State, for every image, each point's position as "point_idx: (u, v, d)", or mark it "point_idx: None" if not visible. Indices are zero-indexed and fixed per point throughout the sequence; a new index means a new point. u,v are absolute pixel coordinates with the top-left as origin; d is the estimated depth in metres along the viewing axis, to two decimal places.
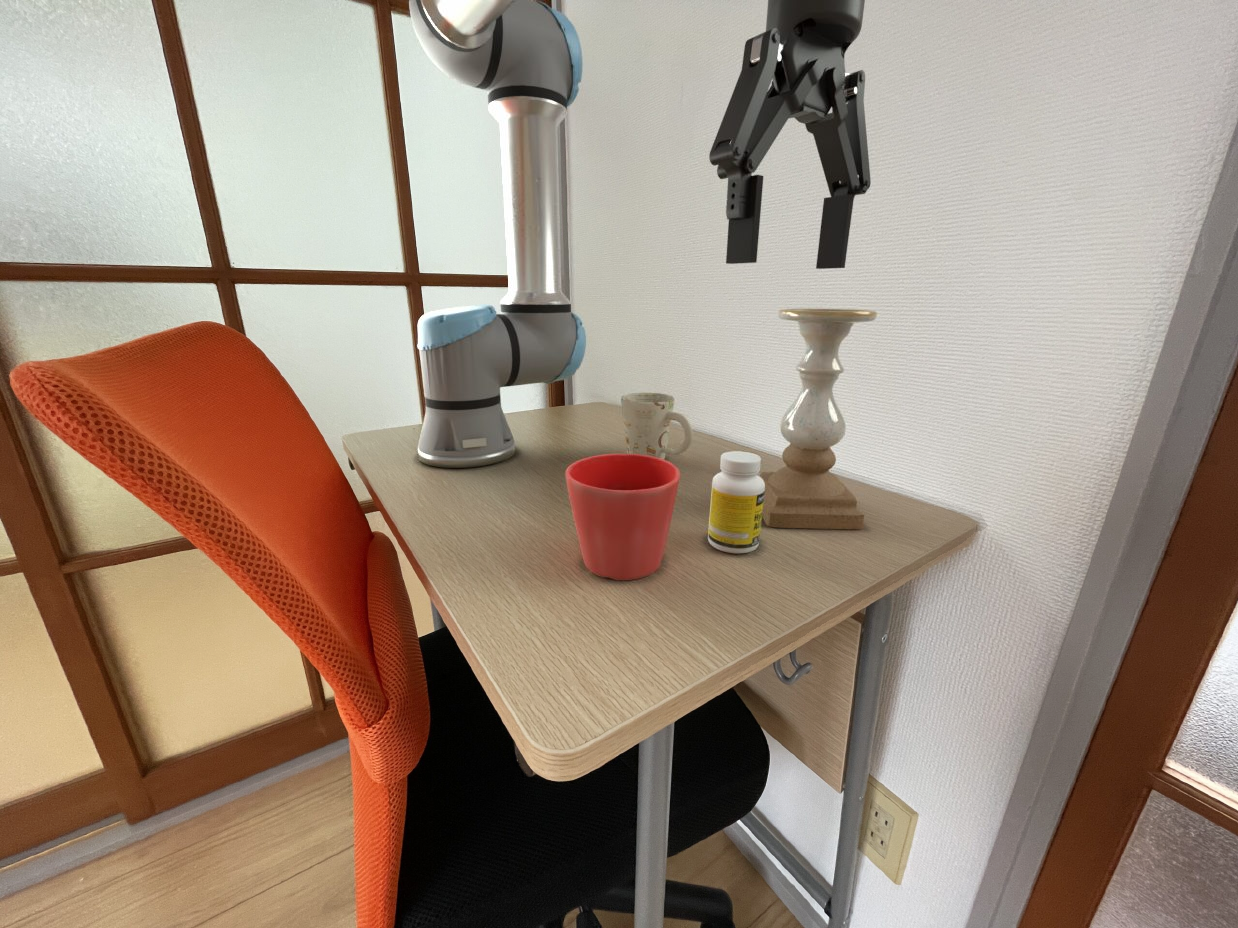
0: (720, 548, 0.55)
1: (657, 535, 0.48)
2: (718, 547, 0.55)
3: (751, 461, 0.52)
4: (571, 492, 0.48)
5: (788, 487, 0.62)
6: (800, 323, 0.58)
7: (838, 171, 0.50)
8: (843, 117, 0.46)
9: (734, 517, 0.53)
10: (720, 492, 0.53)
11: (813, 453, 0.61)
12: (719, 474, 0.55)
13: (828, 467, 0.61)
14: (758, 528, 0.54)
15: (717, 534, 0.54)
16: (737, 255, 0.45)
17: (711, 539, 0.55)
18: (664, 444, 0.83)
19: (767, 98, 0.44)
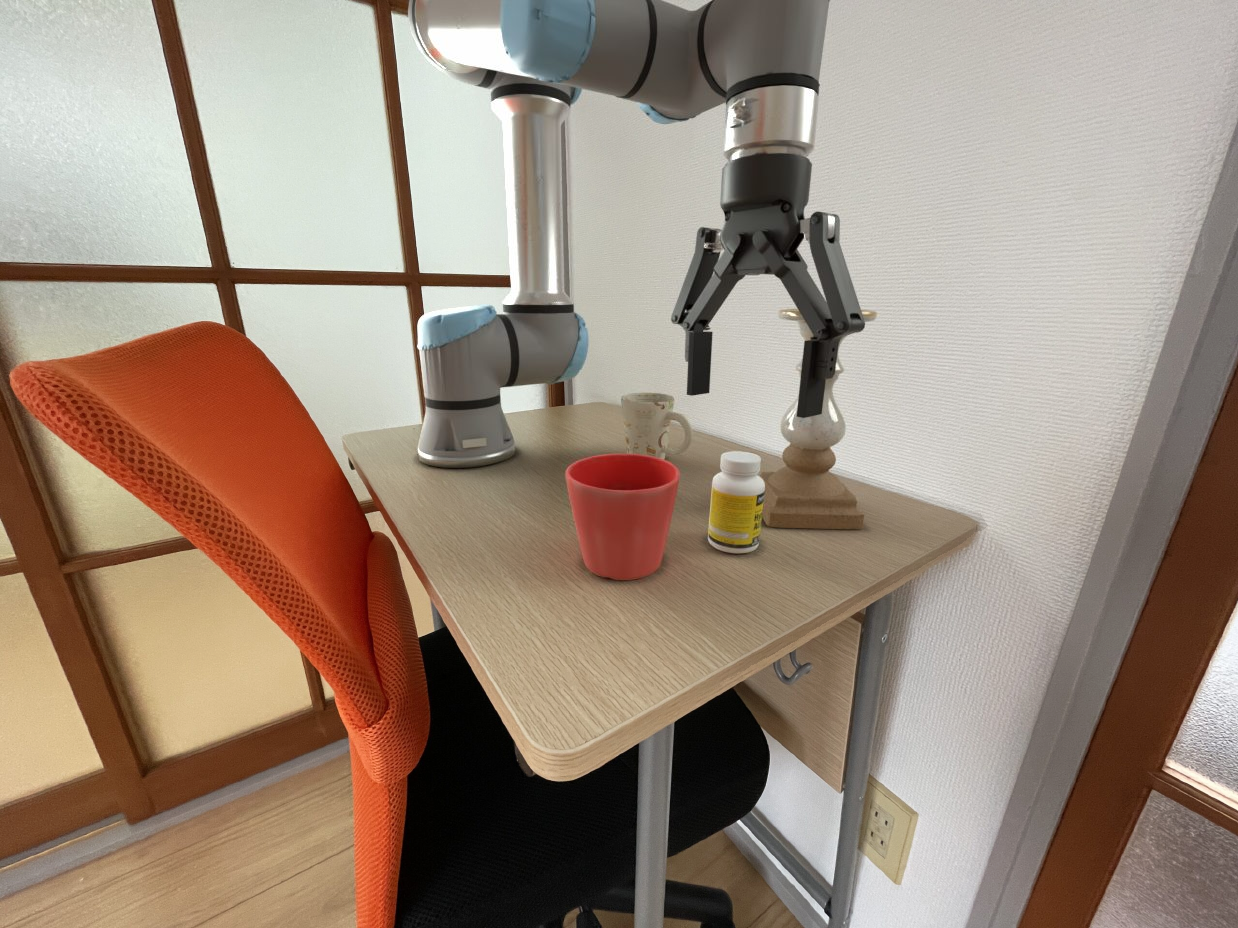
0: (720, 548, 0.55)
1: (657, 535, 0.48)
2: (718, 547, 0.55)
3: (751, 461, 0.52)
4: (571, 492, 0.48)
5: (788, 487, 0.62)
6: (800, 323, 0.58)
7: None
8: (777, 269, 0.45)
9: (734, 517, 0.53)
10: (720, 492, 0.53)
11: (813, 453, 0.61)
12: (719, 474, 0.55)
13: (828, 467, 0.61)
14: (758, 528, 0.54)
15: (717, 534, 0.54)
16: None
17: (711, 539, 0.55)
18: (664, 444, 0.83)
19: None
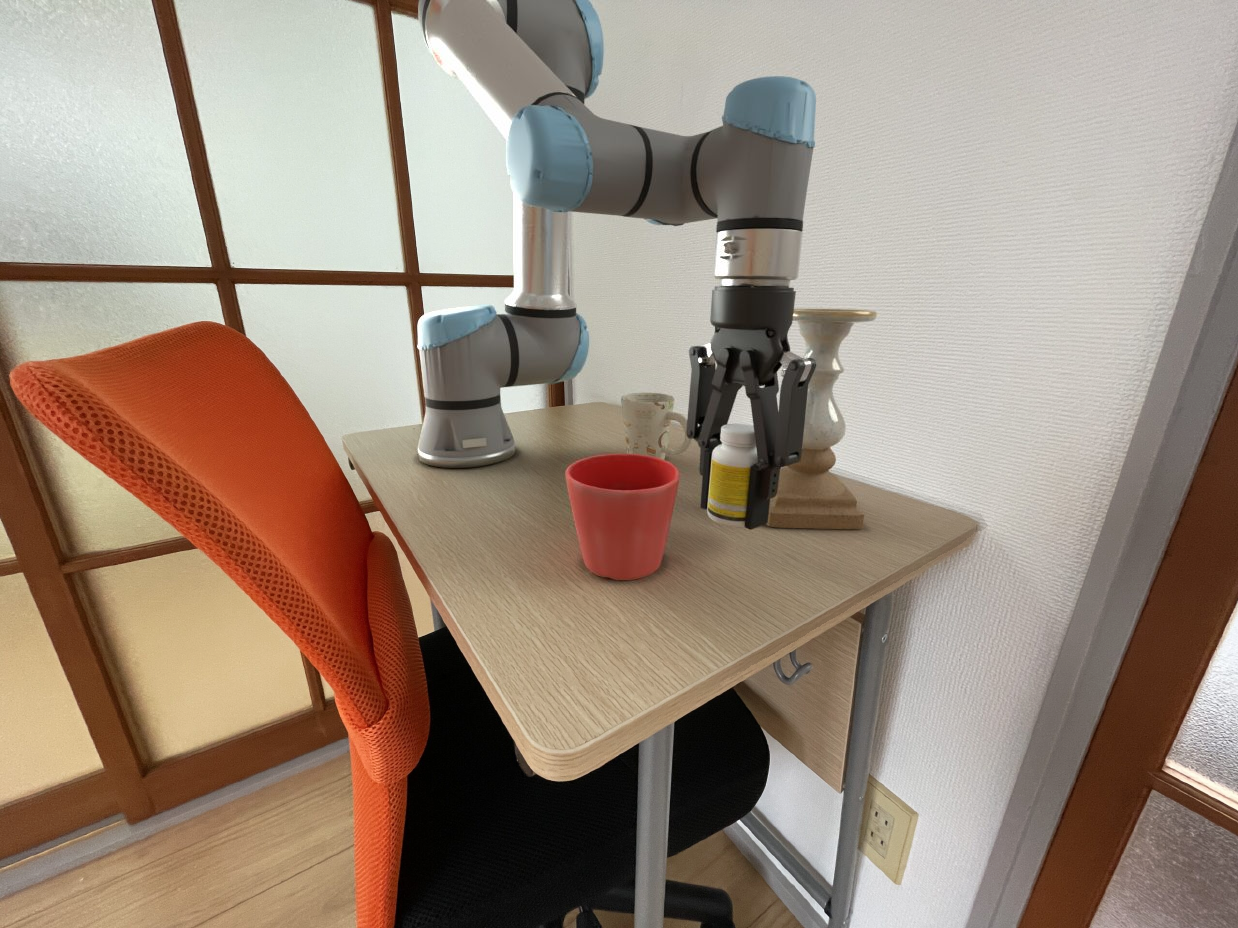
0: (719, 521, 0.54)
1: (657, 535, 0.48)
2: (717, 520, 0.54)
3: (751, 432, 0.51)
4: (571, 492, 0.48)
5: (788, 487, 0.62)
6: (800, 323, 0.58)
7: None
8: (750, 393, 0.49)
9: (734, 489, 0.52)
10: (720, 464, 0.52)
11: (813, 453, 0.61)
12: (719, 446, 0.54)
13: (828, 467, 0.61)
14: None
15: (716, 507, 0.54)
16: None
17: (710, 512, 0.55)
18: (664, 444, 0.83)
19: None
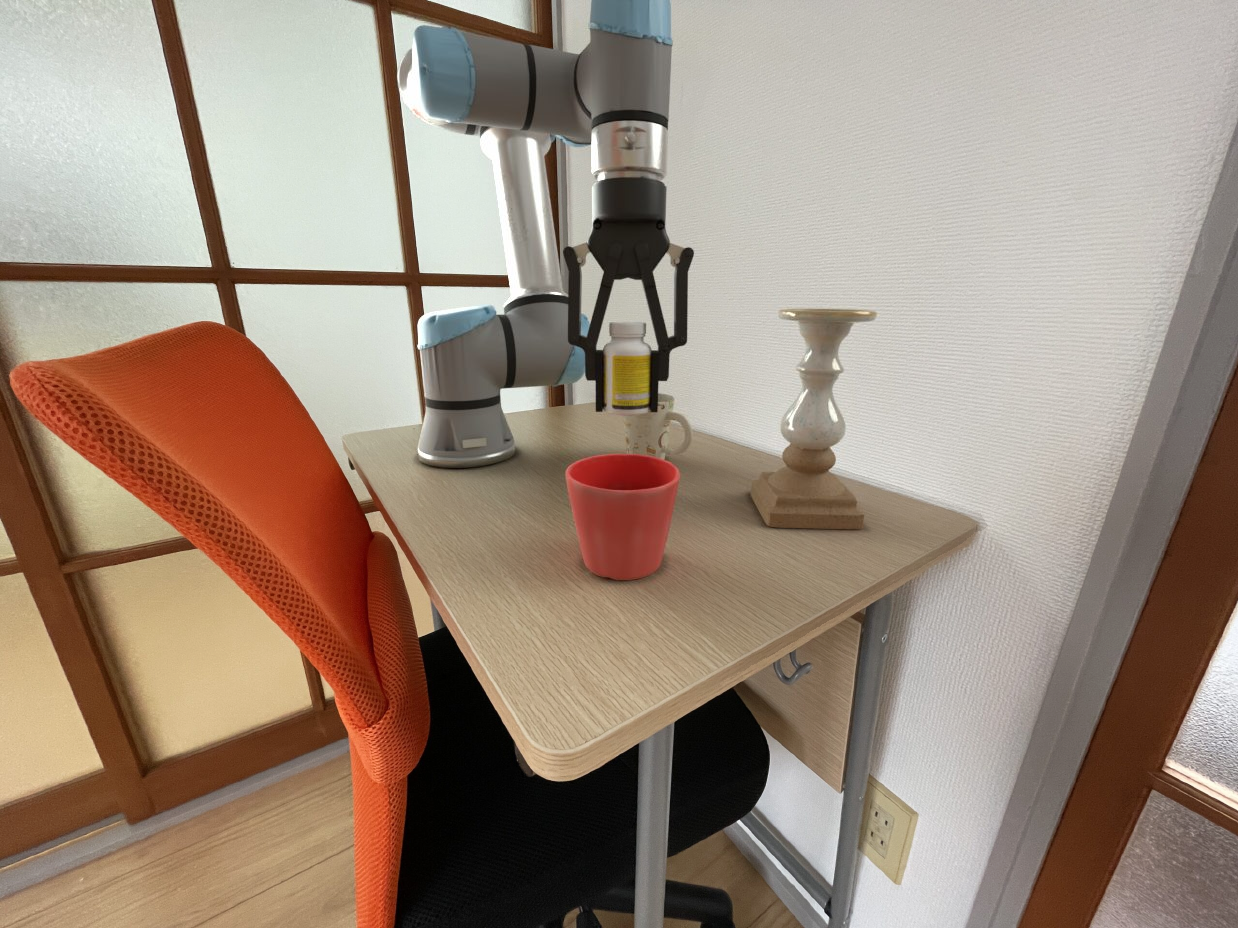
0: (631, 413, 0.57)
1: (657, 535, 0.48)
2: (629, 412, 0.57)
3: (643, 323, 0.57)
4: (571, 492, 0.48)
5: (788, 487, 0.62)
6: (800, 323, 0.58)
7: (653, 326, 0.57)
8: (648, 283, 0.54)
9: (642, 377, 0.57)
10: (627, 356, 0.55)
11: (813, 453, 0.61)
12: (613, 343, 0.56)
13: (828, 467, 0.61)
14: None
15: (627, 400, 0.57)
16: None
17: (619, 408, 0.57)
18: (664, 444, 0.83)
19: None
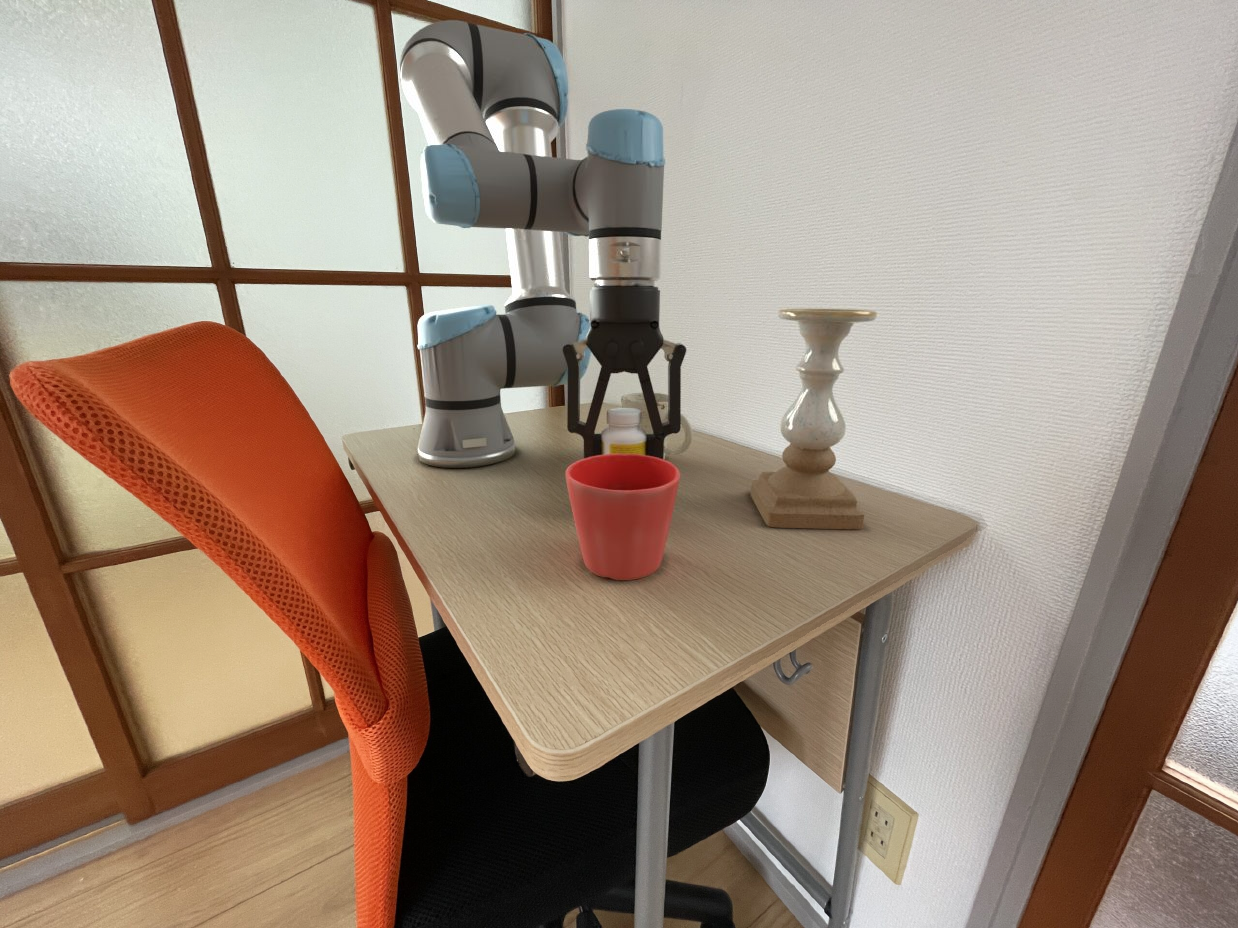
0: None
1: (657, 535, 0.48)
2: None
3: (638, 411, 0.60)
4: (571, 492, 0.48)
5: (788, 487, 0.62)
6: (800, 323, 0.58)
7: None
8: (643, 378, 0.57)
9: None
10: (623, 445, 0.58)
11: (813, 453, 0.61)
12: (610, 431, 0.59)
13: (828, 467, 0.61)
14: None
15: None
16: None
17: None
18: (664, 444, 0.83)
19: None
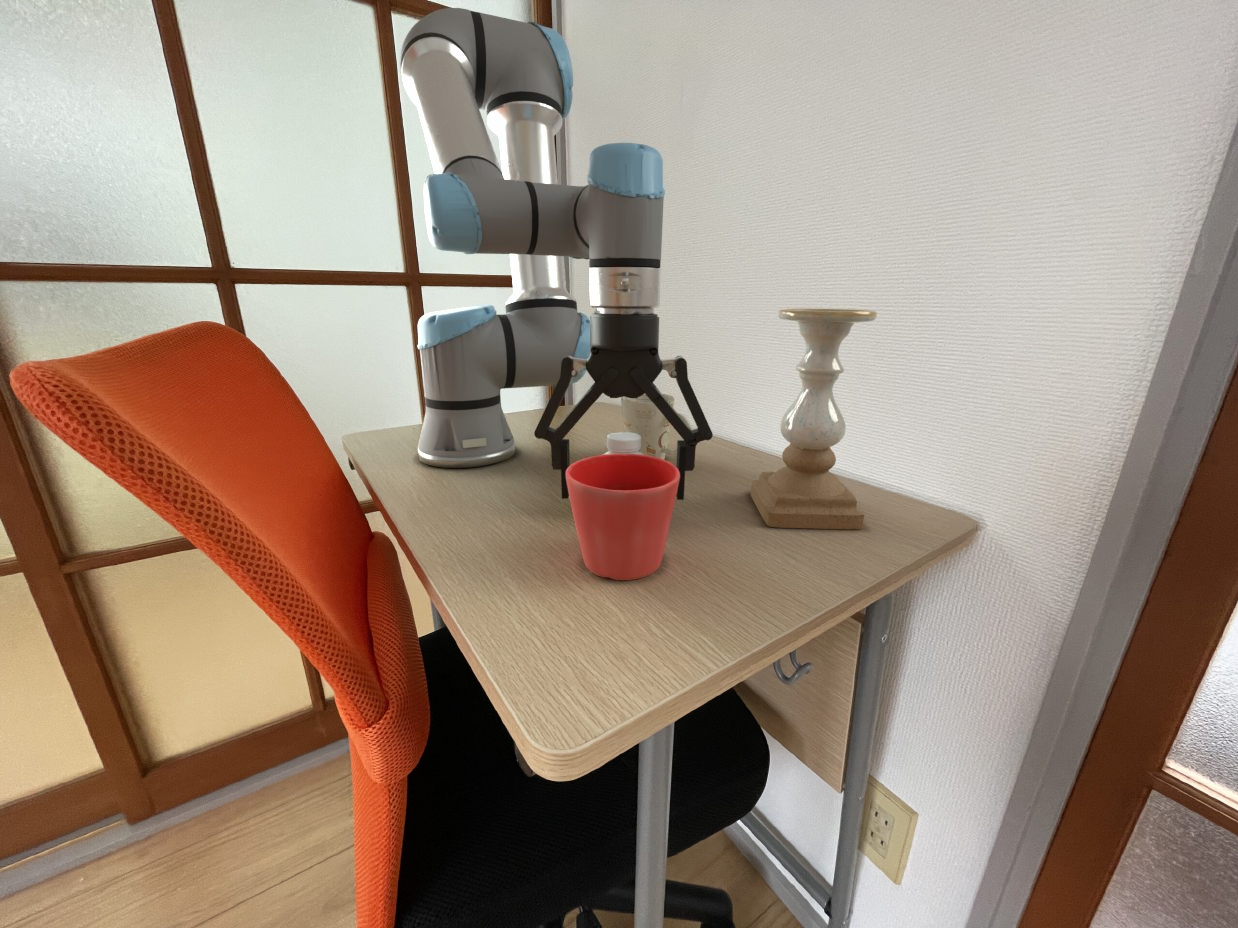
0: None
1: (657, 535, 0.48)
2: None
3: (638, 437, 0.61)
4: (571, 492, 0.48)
5: (788, 487, 0.62)
6: (800, 323, 0.58)
7: None
8: (654, 397, 0.58)
9: None
10: None
11: (813, 453, 0.61)
12: None
13: (828, 467, 0.61)
14: None
15: None
16: None
17: None
18: (664, 444, 0.83)
19: (592, 385, 0.60)
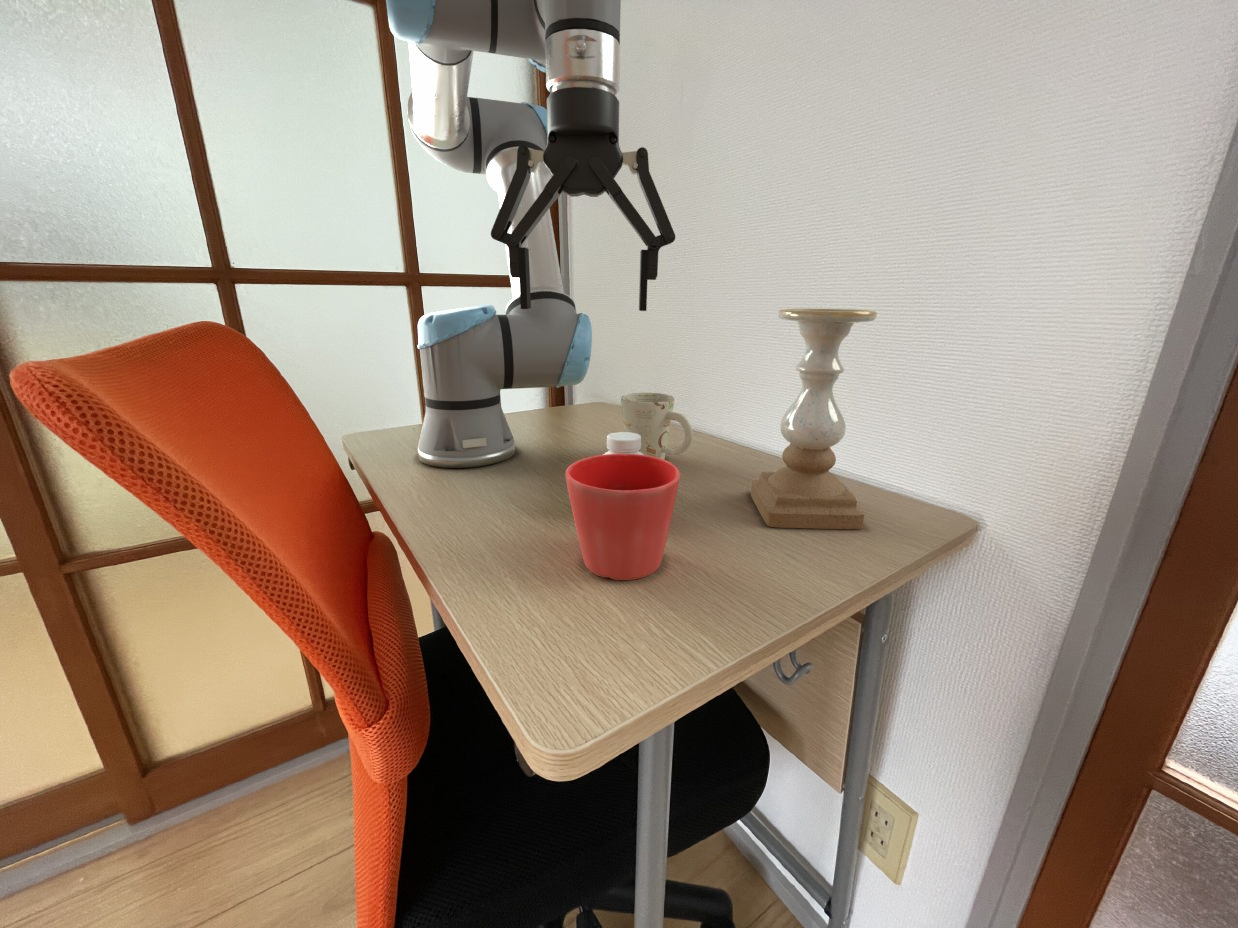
0: None
1: (657, 535, 0.48)
2: None
3: (638, 437, 0.61)
4: (571, 492, 0.48)
5: (788, 487, 0.62)
6: (800, 323, 0.58)
7: (636, 230, 0.58)
8: (614, 191, 0.56)
9: None
10: None
11: (813, 453, 0.61)
12: None
13: (828, 467, 0.61)
14: None
15: None
16: None
17: None
18: (664, 444, 0.83)
19: None
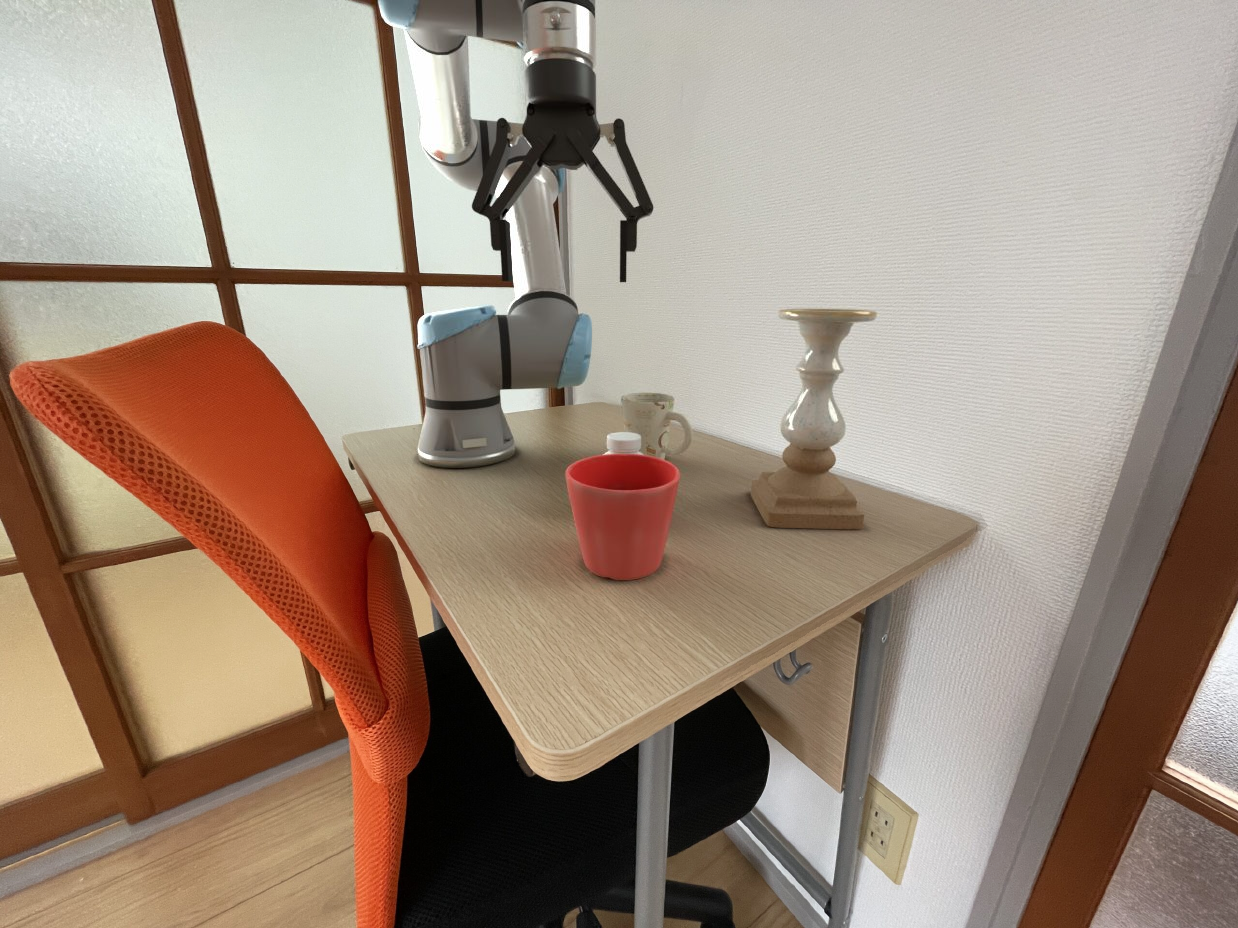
0: None
1: (657, 535, 0.48)
2: None
3: (638, 436, 0.61)
4: (571, 492, 0.48)
5: (788, 487, 0.62)
6: (800, 323, 0.58)
7: (615, 202, 0.59)
8: (591, 162, 0.57)
9: None
10: None
11: (813, 453, 0.61)
12: None
13: (828, 467, 0.61)
14: None
15: None
16: None
17: None
18: (664, 444, 0.83)
19: None
